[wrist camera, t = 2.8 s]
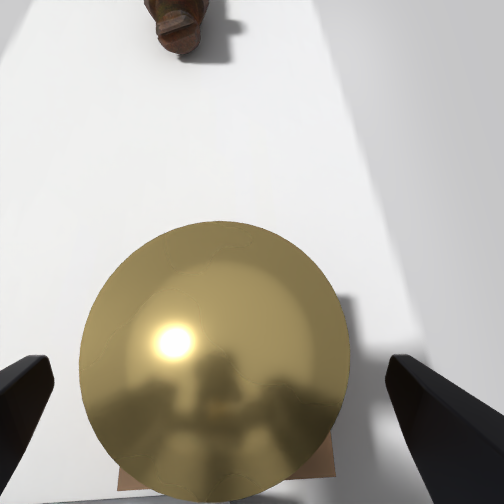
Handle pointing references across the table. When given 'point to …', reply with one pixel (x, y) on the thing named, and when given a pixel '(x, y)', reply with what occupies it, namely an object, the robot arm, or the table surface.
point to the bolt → (178, 23)
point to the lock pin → (214, 362)
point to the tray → (139, 501)
